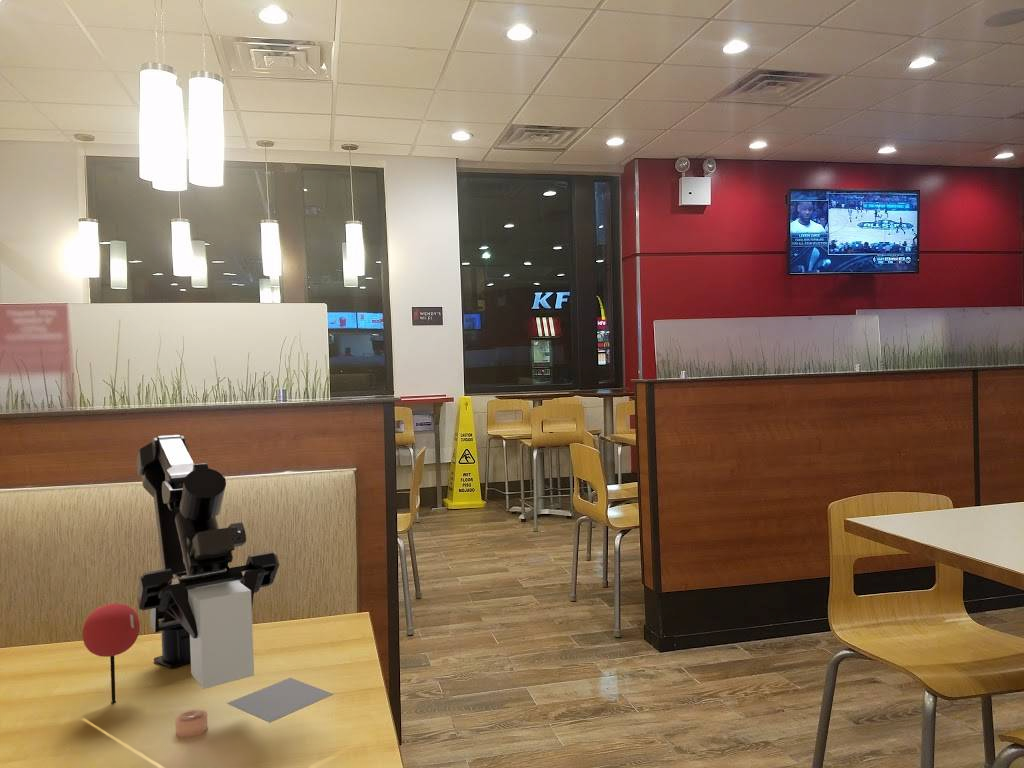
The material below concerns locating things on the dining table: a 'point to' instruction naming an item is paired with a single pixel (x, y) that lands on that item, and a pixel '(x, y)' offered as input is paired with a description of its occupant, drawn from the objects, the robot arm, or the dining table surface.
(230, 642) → the cover
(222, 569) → the robot arm
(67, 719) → the dining table surface
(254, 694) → the mat
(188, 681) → the dining table surface
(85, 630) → the lollipop
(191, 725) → the bowl
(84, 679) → the dining table surface
